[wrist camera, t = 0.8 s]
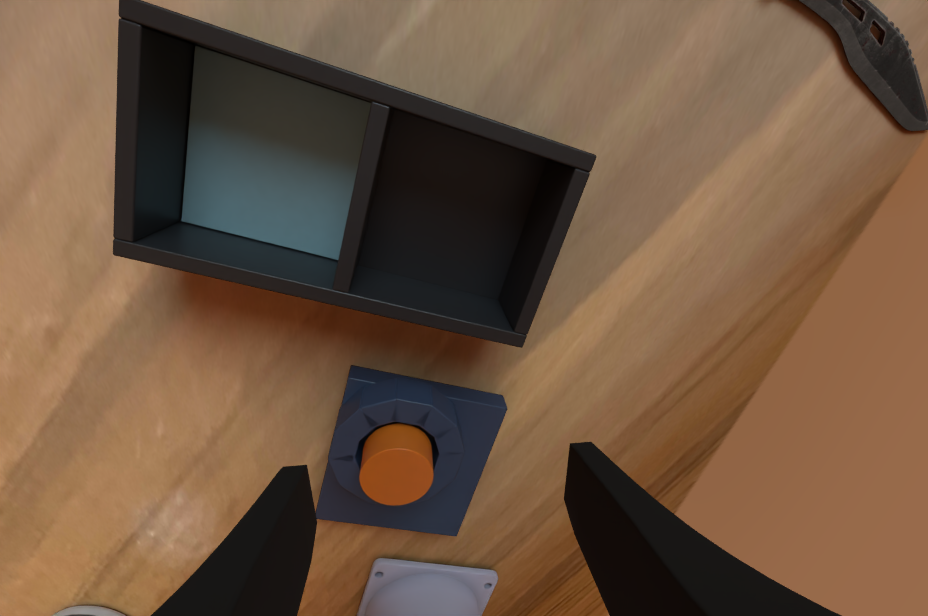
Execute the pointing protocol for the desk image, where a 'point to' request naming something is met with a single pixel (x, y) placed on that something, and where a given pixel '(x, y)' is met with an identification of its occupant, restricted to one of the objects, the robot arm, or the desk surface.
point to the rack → (330, 182)
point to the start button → (396, 464)
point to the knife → (878, 58)
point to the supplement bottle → (88, 611)
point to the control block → (443, 421)
